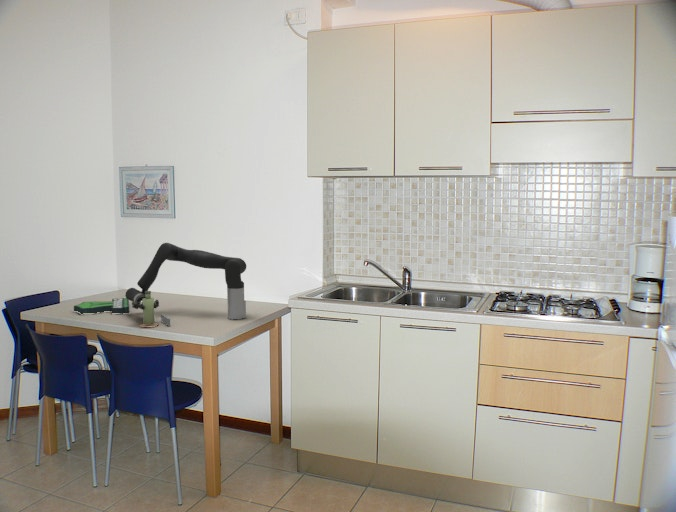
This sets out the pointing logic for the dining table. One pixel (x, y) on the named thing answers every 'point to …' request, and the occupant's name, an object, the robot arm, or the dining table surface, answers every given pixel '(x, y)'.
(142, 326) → the coaster
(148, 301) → the bottle
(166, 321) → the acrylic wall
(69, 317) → the dining table surface
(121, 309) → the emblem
